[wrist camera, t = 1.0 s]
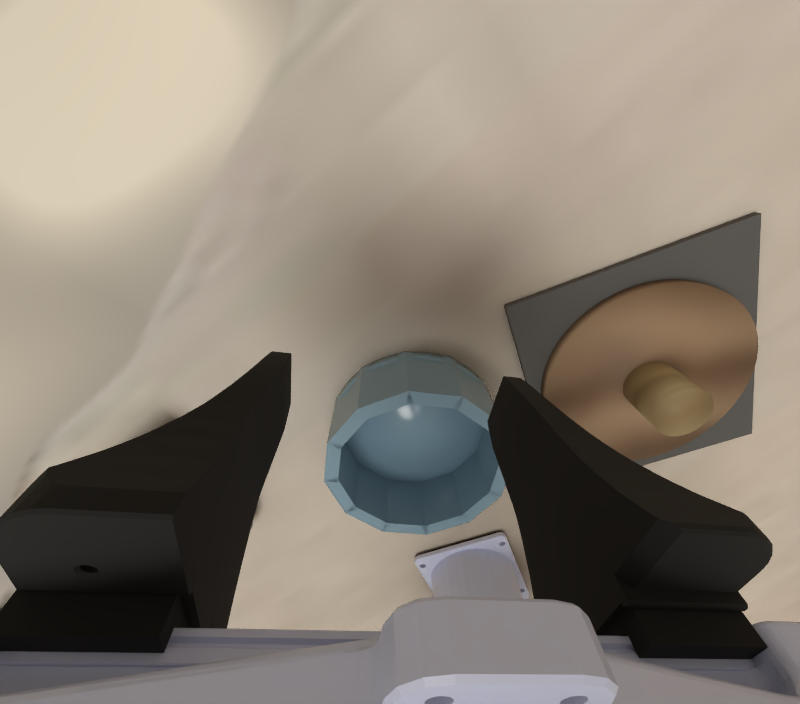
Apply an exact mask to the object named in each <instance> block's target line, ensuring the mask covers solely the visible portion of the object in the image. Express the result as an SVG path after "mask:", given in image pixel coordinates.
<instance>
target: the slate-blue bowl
mask: <svg viewBox="0 0 800 704" xmlns="http://www.w3.org/2000/svg"><path fill="white" fill-rule="evenodd" d="M492 407H493V402H492V400H491V398H490V395H489V393H488V391H487V389H486V386H485V384H484V382H483V380H481V379H480V378H479V377H477V375H476V374H475V373H473V372H472V371H471V370H470V369H469V368H467V367H466V366H464V365H462V364H461V363H459V362H457V361H455V360H454V359H452V358H451V357H446V356H441V355H437V354H431V353H421V352H403V353H400V354H396V355H392V356H389V357H385V358H382V359H380V360H378V361H375V362H373V363H371V364H370V365H367V366H364V367H362V368H361V369H360V371H359V372H358V373H357V374H355V375H354V376H353V377H352V378H351V379H350V380H349V381H348V383H347V384H346V385H345V387H344V388H343V389H342V391H341V393H340V394H339V395H338V397H337V398H336V403H335V408H334V413H333V417H332V422H331V427H330V432H329V437H328V441H327V452H326V465H325V478H324V482H325V483H326V485H327V486H328V488H329V489H330V491H331V492H332V494H333V495H334V497H335V498H336V500H337V501H338V503H339V504H340V506H341V507H342V509H343V510H344V512H345V513H347V514H349V515H351V516H353V517H355V518H357V519H359V520H361V521H363V522H365V523H367V524H369V525H371V526H373V527H375V528H377V529H379V530H381V531H384V532H398V533H412V534H426V535H427V534H430V533H434V532H437V531H440V530H444V529H447V528H451V527H454V526H458V525H461V524H464V523H468V522H470V521H471V520H472V519H473V518H475V517H476V516H477V515H478V514H480V513H481V512H482V511H483V510H484V509H486V508H487V507H488V506H489V505H491V504H492V503H493V502H494V501H496V500H497V499H498V498H499V497H500V496H501V495H502V492H503V489H504V487H505V481H504V479H503V476H502V473H501V470H500V467H499V465H498V462H497V459H496V456H495V453H494V450H493V447H492V443H491V438H490V433H489V428H488V422H487V421H488V418H489V415H490V413H491V410H492Z"/></svg>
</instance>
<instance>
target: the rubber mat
mask: <svg viewBox="0 0 800 704" xmlns="http://www.w3.org/2000/svg"><path fill="white" fill-rule="evenodd" d="M760 229H761V213H752V214H749V215H746V216H744V217H741V218H738V219H736V220H733V221H730V222H728V223H725V224H722V225H720V226H717V227H714V228H711V229H709V230H706V231H703V232H701V233H698V234H695V235H693V236H690V237H687V238H685V239H682V240H679V241H676V242H674V243H671V244H668V245H666V246H663V247H660V248H658V249H655V250H652V251H649V252H647V253H644V254H641V255H639V256H636V257H633V258H631V259H628V260H625V261H623V262H620V263H617V264H614V265H612V266H609V267H606V268H604V269H601V270H598V271H596V272H593V273H590V274H588V275H585V276H582V277H579V278H577V279H574V280H571V281H569V282H566V283H563V284H561V285H558V286H555V287H553V288H550V289H547V290H544V291H542V292H539V293H536V294H534V295H531V296H528V297H526V298H523V299H520V300H518V301H515V302H512V303H509V304H507V305H504V307H505V310H506V314H507V317H508V321H509V324H510V328H511V331H512V335H513V338H514V342H515V345H516V349H517V352H518V356H519V359H520V363H521V366H522V370H523V373H524V377H525V380H526V382H527V383H528V384H529V385H530V386H532V387H533V388H534V389H535V390H537V391H538V392H539V393H540V394H541V383H542V376H543V373H544V370H545V366H546V364H547V361H548V359H549V357H550V355H551V353H552V351H553V349H554V348H555V346H556V344H557V343H558V341H559V340H560V339H561V337H562V336H563V335H564V333H565V332H566V331H567V330H568V329H569V328H570V327H571V326H572V324H573V323H574V322H575V321H576V320H577V319H579V318H580V317H581V316H582V315H583V314H584V313H586V312H587V311H588V310H589V309H591V308H592V307H594V306H595V305H596V304H598V303H599V302H601V301H602V300H604V299H606V298H608V297H610V296H612V295H613V294H615V293H617V292H620V291H622V290H624V289H627V288H629V287H632V286H635V285H639V284H642V283H645V282H651V281H656V280H664V279H685V280H693V281H697V282H702V283H705V284H707V285H710V286H712V287H715V288H717V289H720V290H722V291H725V292H727V293H728V294H730V295H731V296H733V297H735V298H736V299H737V300H738V301H739V302H740V303H741V304H743V305H744V307H745V308H746V309H747V311H748V312H749V314H750V315H751V317H752V319H753V322H754V324H755V327H756V322H757V299H758V275H759V252H760ZM754 369H755V367H754ZM753 392H754V370H753V373H752V375H751V378H750V380H749V382H748V384H747V386H746V388H745V389H744V391H743V393H742V394H741V396H740V397H739V399H738V400H737V401H736V403H735V404H734V405H733V406H732V407H731V409H730V410H729V411H728V412H727V413H726V414H725V415H724V416H723V417H722V418H721V419H720V420H719V421H718V422H717V423H716V424H714V425H713V426H712V427H711V428H709V429H708V430H707V431H705V432H704V433H703V434H701V435H699V436H698V437H696V438H695V439H693V440H692V441H690V442H688V443H686V444H684V445H682V446H680V447H678V448H676V449H673V450H671V451H669V452H666V453H663V454H660V455H657V456H654V457H650V458H646V459H640V460H634V462H635V463H637V464H639V465H641V466H643V465H646V464H649V463H653V462H656V461H660V460H663V459H666V458H670V457H673V456H677V455H680V454H683V453H687V452H690V451H694V450H697V449H700V448H704V447H707V446H711V445H714V444H717V443H721V442H724V441H728V440H731V439H734V438H738V437H741V436H745V435H748V434H751V433H752V416H753Z"/></svg>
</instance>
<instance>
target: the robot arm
mask: <svg viewBox="0 0 800 704" xmlns="http://www.w3.org/2000/svg"><path fill="white" fill-rule="evenodd" d="M290 404H291V353H282V352H273V351H272V352H271V353H269V354H268V355H267V356H266V357H264V358H263V359H262V360H261V361H260V362H259V363H258V364H256V365H255V366H254V367H253V368H252V369H250V370H249V371H248V372H247V373H246V374H244V375H243V376H242V377H241V378H239V379H238V380H237V381H235V382H234V383H233V384H232V385H230V386H229V387H228V388H226V389H225V390H223V391H222V392H220V393H219V394H218V395H216V396H215V397H213V398H212V399H211V400H209V401H207V402H206V403H204V404H203V405H201V406H199V407H198V408H196V409H194V410H192V411H190V412H189V413H187V414H185V415H183V416H181V417H180V418H178V419H176V420H173V421H171V422H169V423H167V424H165V425H163V426H161V427H159V428H157V429H155V430H153V431H151V432H148V433H146V434H144V435H141V436H139V437H137V438H134V439H132V440H129V441H127V442H124V443H122V444H119V445H116V446H114V447H111V448H108V449H105V450H103V451H100V452H97V453H94V454H91V455H88V456H84V457H81V458H78V459H75V460H72V461H69V462H66V463H62V464H59V465H56V466H52V467H49V468H48V469H47V470H46V471H44V472H43V473H42V474H41V475H40V476H39V477H38V478H37V479H36V480H35V481H34V482H33V483H32V484H31V485H30V486H29V487H28V488H27V490H26V491H25V492H24V493H23V494H22V495H21V496H20V497H19V498H18V499H17V500H16V501H15V502H14V503H13V504H12V505H11V506H10V508H9V509H8V510H7V511H6V512H5V513H4V514H3V515H2V516H1V517H0V565H1V566H2V568H3V569H4V571H5V572H6V574H7V575H8V577H9V578H10V580H11V581H12V583H13V585H14V586H15V588H16V589H17V590H16V591H15V593H14V594H13V595H12V596H11V598H10V599H9V600H8V602H7V603H6V604H5V605H4V607H3V608H0V704H800V622H779V621H766V622H759V623H756V624H753V625H751V623H750V622H749V621H748V619H747V618H746V617H745V615H744V614H743V613H742V611H745V610H747V609H748V604H747V603H746V601H745V600H744V599H743V598H742V596H741V595H740V594H739V592H738V591H739V590H740V589H741V588H742V587H743V586H744V585H746V584H747V583H748V582H749V581H750V580H751V579H752V578H754V577H755V576H756V575H757V574H758V573H759V572H760V571H761V570H762V569H763V568H764V567H765V566H766V565H767V564H768V562H769V560H770V558H771V556H772V543H771V542H770V540H769V539H768V538H767V537H766V536H765V535H764V534H763V533H762V531H761V530H760V529H759V528H758V527H757V526H756V525H755V524H754V523H753V522H752V521H751V520H750V519H749V518H748V516H746V515H745V514H744V513H742V512H740V511H737V510H735V509H732V508H730V507H728V506H725V505H723V504H720V503H718V502H715V501H713V500H711V499H708V498H706V497H703V496H701V495H699V494H696V493H694V492H692V491H690V490H688V489H686V488H684V487H682V486H679V485H677V484H675V483H673V482H671V481H669V480H667V479H665V478H663V477H661V476H659V475H657V474H655V473H653V472H652V471H650V470H648V469H646V468H644V467H643V466H641V465H639V464H637V463H635V462H634V461H632V460H630V459H629V458H627V457H625V456H624V455H622V454H620V453H619V452H617V451H616V450H614V449H613V448H611V447H609V446H608V445H606V444H605V443H603V442H602V441H600V440H599V439H597V438H596V437H595V436H593V435H592V434H590V433H589V432H588V431H586V430H585V429H584V428H582V427H581V426H580V425H578V424H577V423H576V422H574V421H573V420H572V419H571V418H569V417H568V416H567V415H566V414H564V413H563V412H562V411H561V410H559V409H558V408H557V407H556V406H555V405H553V404H552V403H551V402H550V401H549V400H547V399H546V398H545V397H544V396H543V395H541V394H540V393H539V392H538V391H537V390H535V389H534V388H533V387H532V386H530V385H529V384H528V383H527V382H525V381H524V380H522V379H521V378H515V377H505V376H504V377H503V379H502V382H501V385H500V388H499V391H498V393H497V396H496V399H495V402H494V404H493V407H492V410H491V413H490V415H489V418H488V421H487V422H488V428H489V433H490V438H491V443H492V447H493V450H494V453H495V456H496V459H497V462H498V465H499V467H500V470H501V473H502V476H503V479H504V481H505V484H506V487H507V490H508V492H509V495H510V498H511V501H512V504H513V507H514V510H515V513H516V517H517V521H518V525H519V529H520V533H521V537H522V541H523V546H524V550H525V555H526V560H527V564H528V569H529V574H530V579H531V585H532V590H533V596H534V599H527V598H529V592H528V589H527V587H526V584H525V582H524V579H523V577H522V575H521V572H520V570H519V567H518V565H517V562H516V560H515V557H514V555H513V552H512V550H511V547H510V545H509V542H508V540H507V537H506V535H505V534H504V533H502V532H498V533H495V534H491V535H488V536H484V537H481V538H477V539H474V540H470V541H467V542H463V543H460V544H456V545H453V546H449V547H446V548H442V549H439V550H435V551H431V552H428V553H424V554H421V555H418V556H416V557H415V564H416V566H417V567H418V569H419V571H420V572H421V574H422V576H423V577H424V579H425V581H426V582H427V584H428V586H429V587H430V589H431V591H432V592H433V597H431V598H422V599H417V600H414V601H412V602H410V603H407V604H405V605H402V606H400V607H398V608H397V609H396V610H395V611H394V612H393V613H392V615H391V616H390V617H389V618H388V619H387V621H386V622H385V623H384V624H383V627H382V630H381V631H328V630H275V629H227V625H228V620H229V616H230V611H231V607H232V603H233V598H234V594H235V590H236V586H237V582H238V577H239V573H240V569H241V565H242V561H243V557H244V553H245V549H246V545H247V541H248V537H249V533H250V529H251V525H252V522H253V518H254V514H255V510H256V507H257V503H258V499H259V496H260V493H261V490H262V487H263V485H264V482H265V479H266V477H267V474H268V472H269V469H270V466H271V464H272V461H273V458H274V456H275V453H276V451H277V448H278V445H279V443H280V440H281V437H282V435H283V432H284V429H285V425H286V421H287V417H288V412H289V408H290Z"/></svg>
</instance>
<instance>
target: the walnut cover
mask: <svg viewBox="0 0 800 704" xmlns="http://www.w3.org/2000/svg"><path fill="white" fill-rule="evenodd" d="M757 352H758V336H757V331H756V327H755V324H754V322H753V319H752V317H751V315H750V314H749V312H748V311H747V309H746V308H745V307H744V305H743V304H741V303H740V302H739V301H738V300H737V299H736V298H735V297H733V296H731V295H730V294H728V293H727V292H725V291H722V290H720V289H717V288H715V287H712V286H710V285H707V284H705V283H702V282H697V281H693V280H685V279H664V280H656V281H651V282H645V283H642V284H639V285H635V286H632V287H629V288H627V289H624V290H622V291H620V292H617V293H615V294H613V295H612V296H610V297H608V298H606V299H604V300H602V301H601V302H599V303H598V304H596V305H595V306H594V307H592V308H591V309H589V310H588V311H587V312H586V313H584V314H583V315H582V316H581V317H580V318H579V319H577V320H576V321H575V322H574V323H573V324H572V326H571V327H570V328H569V329H568V330H567V331H566V332H565V333H564V335H563V336H562V337H561V339H560V340H559V341H558V343H557V344H556V346H555V348H554V349H553V351H552V353H551V355H550V357H549V359H548V361H547V364H546V366H545V370H544V373H543V376H542V383H541V395H543V396H544V397H545V398H546V399H547V400H549V401H550V402H551V403H552V404H553V405H555V406H556V407H557V408H558V409H559V410H561V411H562V412H563V413H564V414H566V415H567V416H568V417H569V418H571V419H572V420H573V421H574V422H576V423H577V424H578V425H580V426H581V427H582V428H584V429H585V430H586V431H588V432H589V433H590V434H592V435H593V436H595V437H596V438H597V439H599V440H600V441H602V442H603V443H605V444H606V445H608V446H609V447H611V448H613V449H614V450H616V451H617V452H619V453H620V454H622V455H624V456H625V457H627V458H629V459H630V460H632V461H634V460H640V459H646V458H650V457H654V456H657V455H660V454H663V453H666V452H669V451H671V450H673V449H676V448H678V447H680V446H682V445H684V444H686V443H688V442H690V441H692V440H693V439H695V438H696V437H698V436H699V435H701V434H703V433H704V432H705V431H707V430H708V429H709V428H711V427H712V426H713V425H714V424H716V423H717V422H718V421H719V420H720V419H721V418H722V417H723V416H724V415H725V414H726V413H727V412H728V411H729V410H730V409H731V407H732V406H733V405H734V404H735V403H736V401H737V400H738V399H739V397H740V396H741V394H742V393H743V391H744V389H745V388H746V386H747V384H748V382H749V380H750V378H751V375H752V373H753V370H754V367H755V363H756V360H757Z"/></svg>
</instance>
